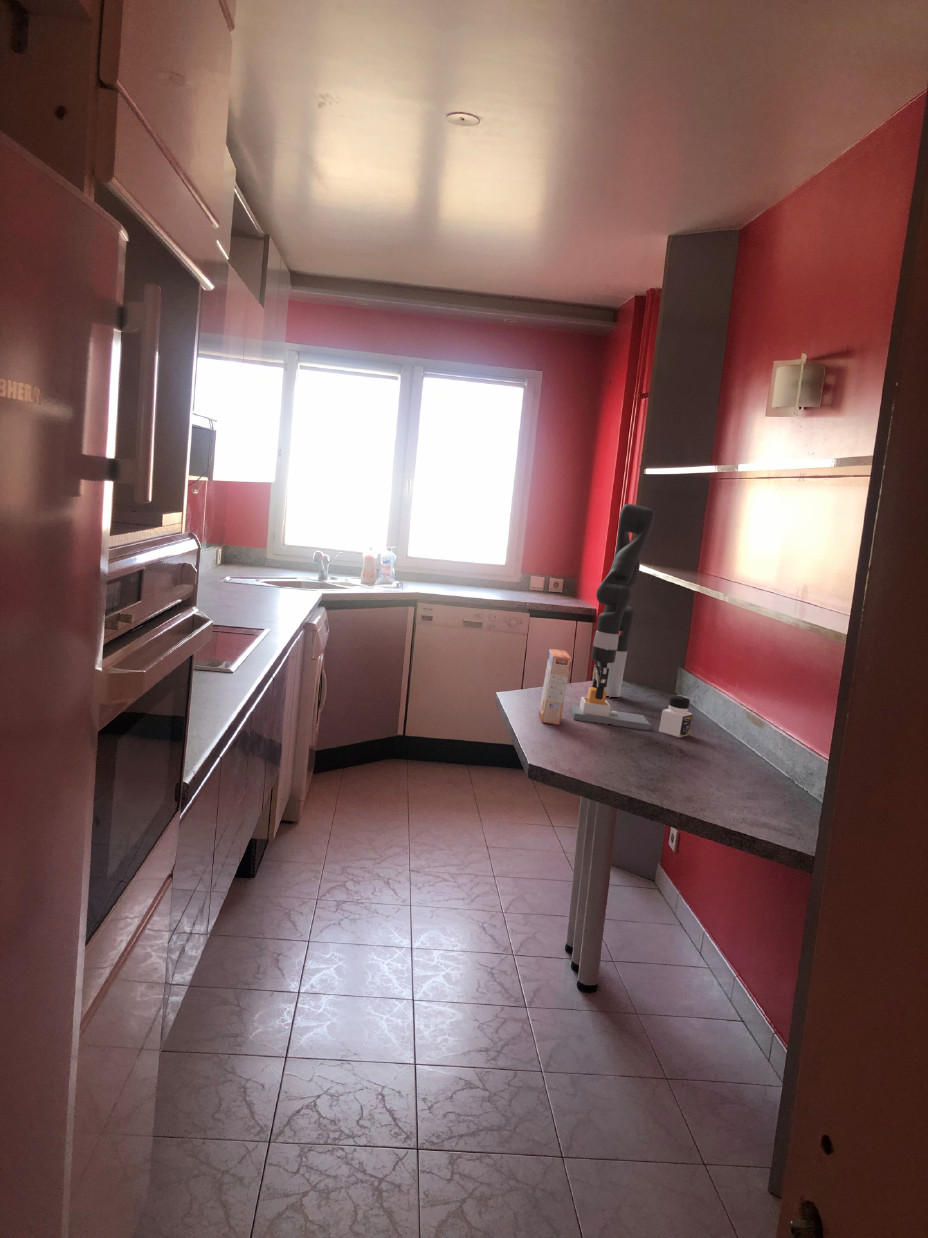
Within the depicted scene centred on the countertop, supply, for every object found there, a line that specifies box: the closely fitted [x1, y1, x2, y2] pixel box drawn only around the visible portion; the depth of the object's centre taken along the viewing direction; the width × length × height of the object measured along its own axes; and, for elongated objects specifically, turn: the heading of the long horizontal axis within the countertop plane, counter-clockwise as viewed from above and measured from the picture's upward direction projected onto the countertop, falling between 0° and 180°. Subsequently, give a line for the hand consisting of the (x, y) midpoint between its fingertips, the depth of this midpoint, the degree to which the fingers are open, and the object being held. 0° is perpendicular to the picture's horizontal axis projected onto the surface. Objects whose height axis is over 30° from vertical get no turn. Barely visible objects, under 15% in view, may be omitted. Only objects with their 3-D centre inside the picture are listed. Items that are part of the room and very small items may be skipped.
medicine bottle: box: [658, 694, 693, 738], centre depth 282 cm, size 7×7×12 cm
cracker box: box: [538, 648, 572, 726], centre depth 275 cm, size 14×6×21 cm, turn 179°
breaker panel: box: [568, 696, 651, 731], centre depth 287 cm, size 12×24×6 cm, turn 90°
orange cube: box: [586, 686, 607, 705], centre depth 286 cm, size 5×5×5 cm
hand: (596, 695), depth 286 cm, fingers open, 8 cm apart
